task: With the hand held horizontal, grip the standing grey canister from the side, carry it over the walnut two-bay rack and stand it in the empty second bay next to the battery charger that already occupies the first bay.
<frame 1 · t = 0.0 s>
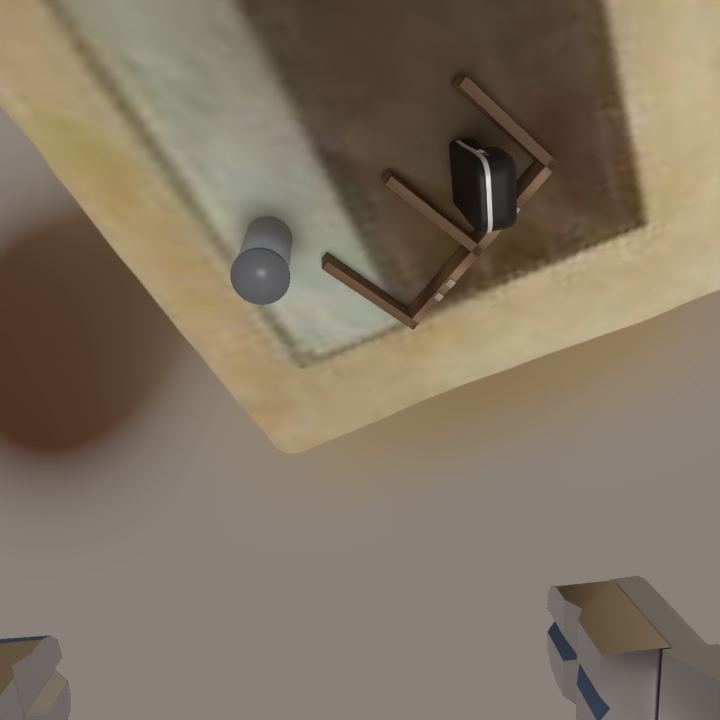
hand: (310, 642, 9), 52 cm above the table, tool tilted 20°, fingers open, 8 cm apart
canister: (269, 239, 58), on the table
dock: (431, 210, 58), on the table
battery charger: (468, 170, 56), resting in dock
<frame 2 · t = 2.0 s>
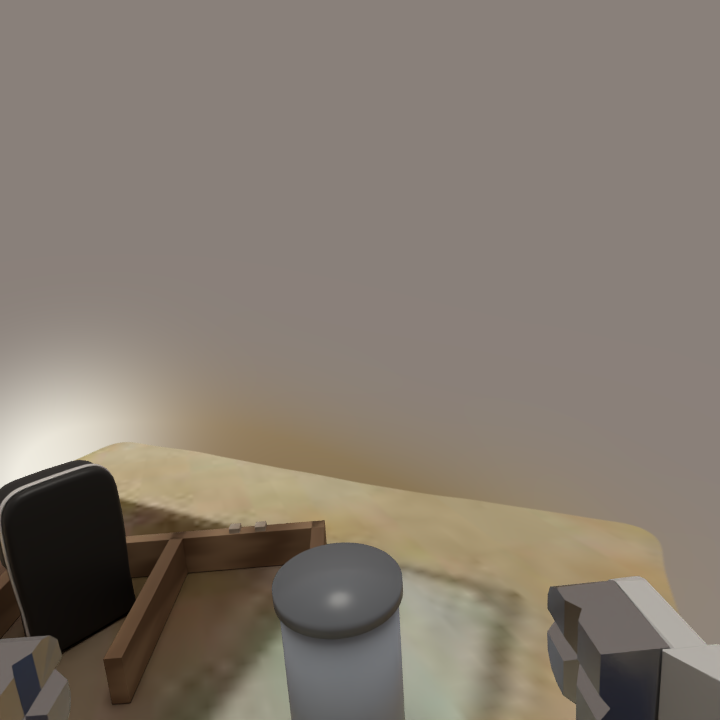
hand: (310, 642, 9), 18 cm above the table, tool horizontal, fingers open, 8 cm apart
dock: (158, 622, 36), on the table
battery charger: (81, 627, 37), resting in dock
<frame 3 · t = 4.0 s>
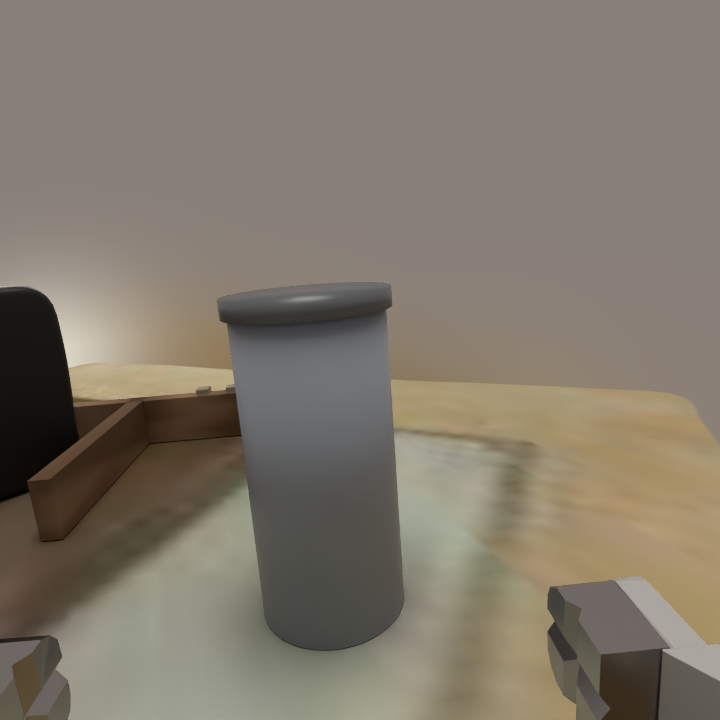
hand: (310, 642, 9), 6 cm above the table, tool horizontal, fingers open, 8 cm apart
canister: (334, 597, 19), on the table
dock: (109, 478, 31), on the table
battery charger: (18, 487, 31), resting in dock
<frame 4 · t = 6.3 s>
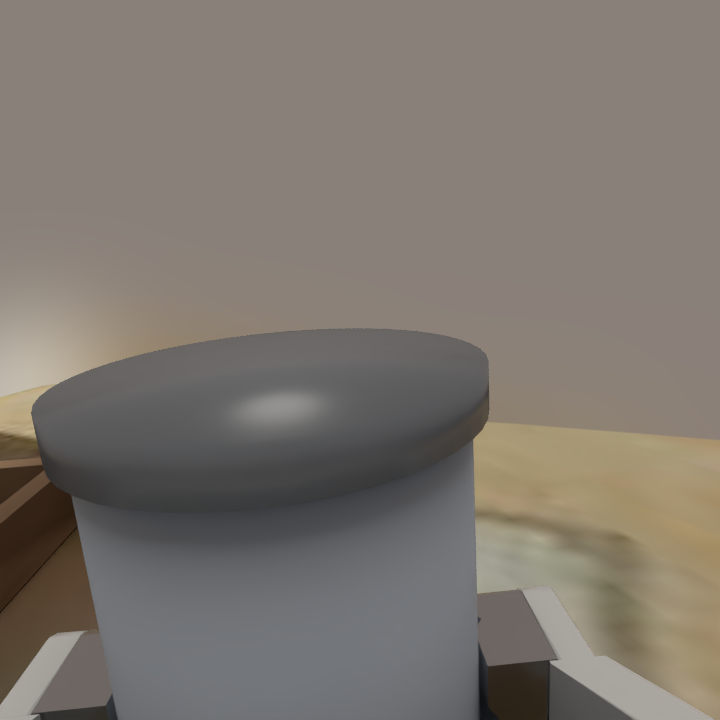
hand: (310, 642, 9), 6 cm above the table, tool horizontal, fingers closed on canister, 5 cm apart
dock: (8, 589, 21), on the table
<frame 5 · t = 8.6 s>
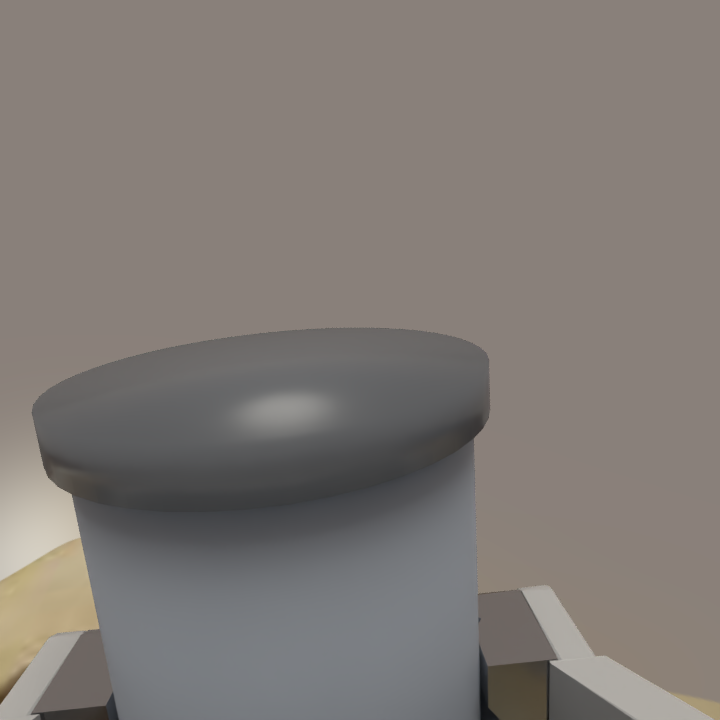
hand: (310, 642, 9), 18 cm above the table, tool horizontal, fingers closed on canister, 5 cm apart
when the fingers open (7 cm above the table, at t = 11.3 s): canister stays where it is, resting in dock.
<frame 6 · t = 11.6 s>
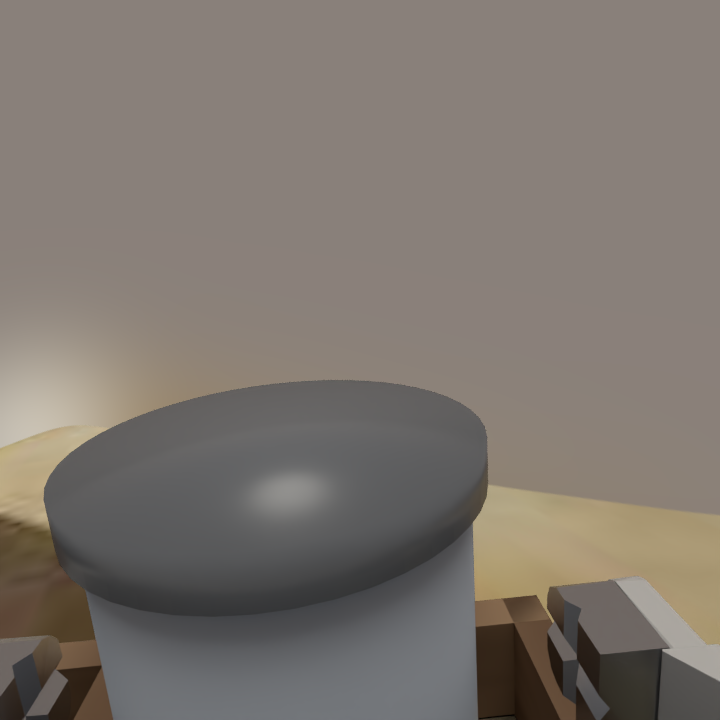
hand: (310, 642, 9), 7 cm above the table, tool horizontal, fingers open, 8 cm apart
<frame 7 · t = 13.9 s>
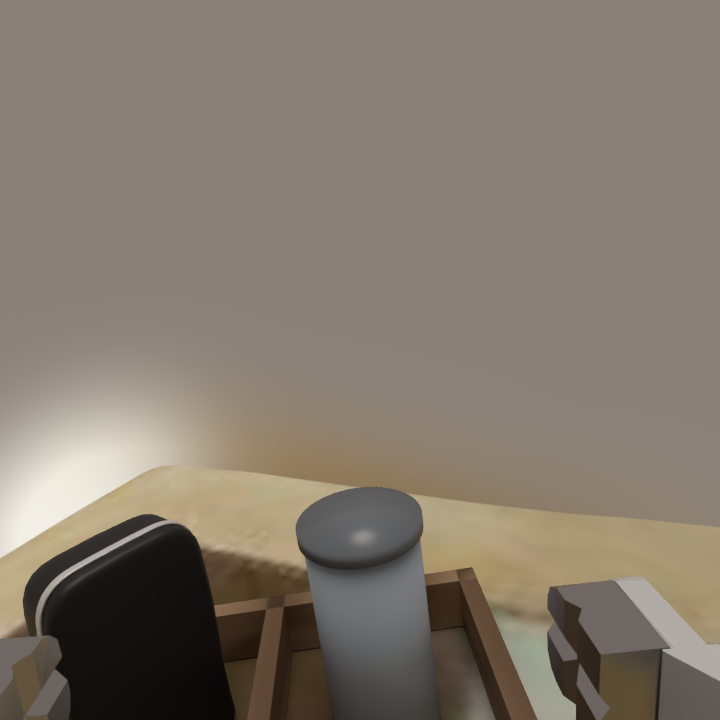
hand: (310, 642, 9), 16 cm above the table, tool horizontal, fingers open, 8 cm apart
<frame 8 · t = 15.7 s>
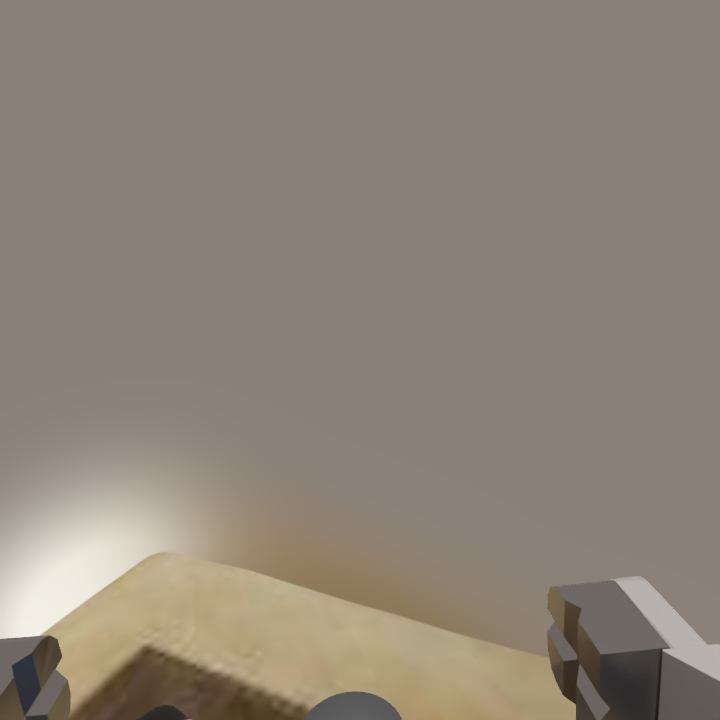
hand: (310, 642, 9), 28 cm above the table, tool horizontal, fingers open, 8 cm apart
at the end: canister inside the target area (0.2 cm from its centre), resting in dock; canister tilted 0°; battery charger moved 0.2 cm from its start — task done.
